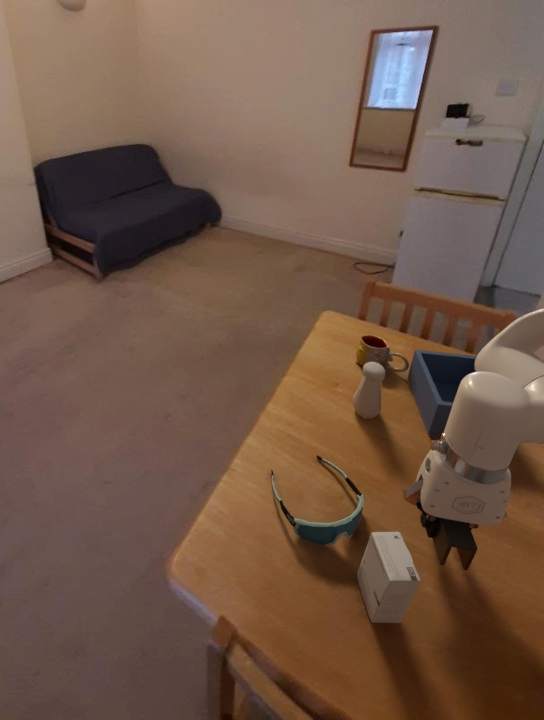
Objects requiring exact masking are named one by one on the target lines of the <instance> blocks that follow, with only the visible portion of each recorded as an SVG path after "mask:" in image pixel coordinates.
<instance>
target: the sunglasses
mask: <svg viewBox="0 0 544 720" xmlns="http://www.w3.org/2000/svg"><path fill="white" fill-rule="evenodd" d="M316 459H317V460H319V461H321V462H322V463H323V464H326V465H328V466H329V467H331V468H332V469H333V470H335V471H336V472H338V473H339V474H340V476H342V477H343V479H344V480H345V482H346V483H347V486H349V487H350V489H351V490H352V491H353V492H354V494H355V495H356V497H355V499H356V500H357V502H358V505H357V507H356V508H355V509H354V510H353V511H352V513H350V515H348V516H347V517H345V518H342V519H340V520H337V521H333V522H319V521H318V522H317V521H308V520H304V519H301V518H296V517H294V516H293V515H292V514H291V513H290V511H289V510H288V508H287V507H286V506H285V504H284V502H283V500H282V498H280V496H279V495H278V492H277V490H276V487H275V481H274V480H275V478H274V477H275V476H274V471H273V469H271V470H270V471H271V486H272V492H273V494H274V497H275V499H276V500H277V502H278V503H279V506H280V509H281V511H282V513H283V515H284V516H285V518H286V519H287V521H288V522H289V524H290V525H291V527H292V530H293V531H294V534H296V535H297V537H298V538H300V539H301V540H303V541H307V542H309V543H312V544H315V545H318V546H330V545H331V546H332V545H335V544H336V543H337V542H338V540H339V539H340V538H341V537H343V536H346V538H347V539H350V538H351V537H352V536H354V533H355V531H356V530H357V528H358V526H359V525H360V521H361V518H362V514H363V510H364V503H365V495H364V494H362V493H361V491H360V490H359V488H358V487H357V486H356V484H355V483H354V482H353V481H352V480H351V479H350V478H349V477H348V475H347V474H346V473H345V471H343V470H342V469H341V468H340V467H338V466H337V465H336V464H335V463H332V462H331V461H329V460H328V459H325V458H323V457H321V456H320V455H318V454H316Z"/></svg>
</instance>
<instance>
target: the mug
mask: <svg viewBox="0 0 544 720" xmlns="http://www.w3.org/2000/svg"><path fill="white" fill-rule="evenodd" d="M355 356H356V360H355V364H356V365H360V366H362V367H363V366H364V365H365V364H366V363H368V362H376V363H379V364H380V365H381V366H383V368H384V369H385V371H390V372H394V373H404V372H407V371H408V369H410V362H409V360H408V358H406V356H404V355H403V354H401V352H391V349H390V346H389V345H388V343H387V341H386V339H383V338H382V337H380V336H376V335H372V334H364V335H362V336H360V337H359V344H358V346H357V348H356V353H355ZM393 356H395V357H399V358H401V359H402V361H404V366H403V367H394V366H393V365H391V364H390V363H391V362H393V361H394V358H393ZM389 362H390V363H389Z"/></svg>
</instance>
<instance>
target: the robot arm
mask: <svg viewBox="0 0 544 720" xmlns="http://www.w3.org/2000/svg"><path fill="white" fill-rule="evenodd" d="M542 347H544V308H541V309H538V310H533V311H531V312H528V313H526V314H524V315H522V316H520V317H518V318H517V319H515V320H513V321H512V322H511V323H509V324H508V325H507V326H506V327H505V328H504V329H502V330H501V331H500V332H499V333H497V334H496V335H495V336H494V337H493V338H492V339H491V340H489V341H488V342H487V344H485V345H484V346H483V347H482V348H481V350H480V351H479V352H478V354H477V355H476V356H477V358H476V360H475V371H476V372H473V373H470V374H468V375H467V376H465V377H464V378H463V379H462V381H461V383H460V385H459V388H458V391H457V394H456V397H455V400H454V403H453V406H452V409H451V412H450V415H449V418H448V421H447V424H446V427H445V430H444V433H442V435H441V437H439V439H430V441H429V446H430V450H429V451H428V453H427V454H426V456H425V457H424V459H423V460H422V463H421V465H420V467H419V470H418V472H417V475H416V478H415V483H413V484H411V485H409V486H407V487H406V488H404V489H402V494H403V498H404V500H405V501H406V502H407V503H409V504H411V505H413V506H416V509H418V510H419V511H420V512H421V514H420V517H419V518H420V524H421V527H422V528H424V529H425V531H426V535H427V538H430V539H432V538H433V536H434V534H435V531H436V529H437V526H438V521H437V517H439V518H444V519H450V520H455V521H461V522H467V523H468V524H469V527H470V530H471V531H472V530H473V529H474V530H475V529H476V530H477V529H479V527H480V526H487V527H493V526H497V525H499V524H500V523H501V521H502V520H503V518H507V517H508V513H507V508H508V504H509V501H510V496H511V488H512V473H511V471H510V468H509V466H510V464H511V462H512V460H513V457H514V456H515V453H516V451H517V449H518V447H519V445H520V444H521V443H533V444H542V445H543V444H544V359H542V358H541V357H539V356H537V354H535V353H536V352H537V351H538V350H540V349H541V348H542Z"/></svg>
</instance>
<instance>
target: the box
mask: <svg viewBox="0 0 544 720" xmlns="http://www.w3.org/2000/svg"><path fill="white" fill-rule="evenodd" d="M476 358H477V355H471V354H470V355H469V354H463V353H461V354H460V353H452V352H451V353H450V352H441V351H432V350H422V349H414V352H413V356H412V359H411V363H410V365H409V370H408V373H407V377H406V379H407V382H408V385H409V388H410V390H411V393H412V396H413V398H414V401H415V404H416V406H417V410H418V412H419V414H420V417H421V420H422V423H423V425H424V428H425V431H426V433H427V436H430V437H436V438H441V435H442V433H444V430H445V427H446V424H447V421H448V418H449V415H450V412H451V409H452V406H453V403H454V400H455V397H456V394H457V391H458V388H459V385H460V383H461V381H462V379H463V378H464V377H465V376H467V375H468V374H470V373H473V372H476V371H475V360H476Z"/></svg>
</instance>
